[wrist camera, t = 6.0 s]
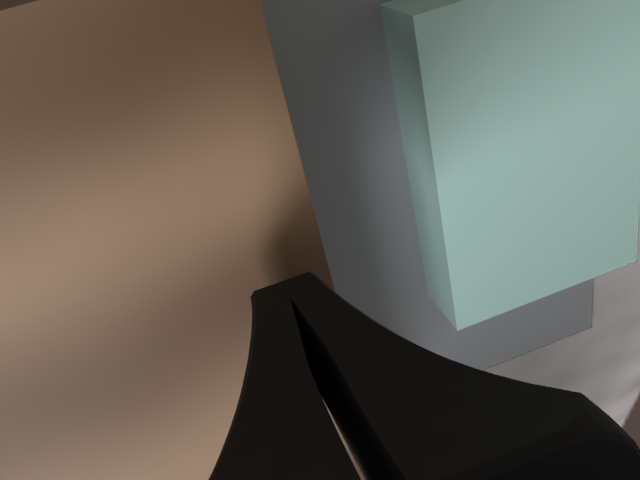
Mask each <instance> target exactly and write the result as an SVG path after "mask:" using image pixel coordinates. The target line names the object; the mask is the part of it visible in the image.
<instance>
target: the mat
mask: <svg viewBox="0 0 640 480" xmlns="http://www.w3.org/2000/svg"><path fill="white" fill-rule="evenodd" d="M259 1H260V5H261V9H262V13H263V16H264V20H265V24H266V28H267V32H268V36H269V39H270V43H271V47H272V51H273V55H274V59H275V63H276V66H277V70H278V74H279V78H280V82H281V86H282V89H283V93H284V97H285V101H286V105H287V109H288V113H289V116H290V120H291V124H292V128H293V132H294V136H295V140H296V143H297V147H298V151H299V155H300V159H301V163H302V166H303V170H304V174H305V178H306V182H307V186H308V190H309V193H310V197H311V201H312V205H313V209H314V213H315V216H316V220H317V224H318V228H319V232H320V236H321V240H322V243H323V247H324V251H325V255H326V259H327V263H328V267H329V270H330V274H331V278H332V282H333V286H334V290H335V292H336V293H337V294H338V295H340V296H341V297H342V298H343V299H345V300H346V301H347V302H349V303H350V304H351V305H353V306H354V307H356V308H357V309H358V310H360V311H361V312H363V313H364V314H366V315H367V316H369V317H370V318H372V319H373V320H375V321H376V322H378V323H379V324H381V325H383V326H384V327H386V328H388V329H389V330H391V331H393V332H394V333H396V334H398V335H400V336H402V337H403V338H405V339H407V340H409V341H411V342H413V343H415V344H417V345H419V346H421V347H423V348H425V349H427V350H429V351H432V352H434V353H436V354H438V355H441V356H443V357H445V358H448V359H450V360H453V361H456V362H459V363H462V364H464V365H467V366H470V367H473V368H476V369H479V370H485V369H487V368H490V367H492V366H495V365H498V364H500V363H503V362H505V361H508V360H510V359H513V358H515V357H518V356H520V355H523V354H526V353H528V352H531V351H533V350H536V349H538V348H541V347H543V346H546V345H548V344H551V343H553V342H556V341H559V340H561V339H564V338H566V337H569V336H571V335H574V334H576V333H579V332H581V331H584V330H587V329H589V328H592V300H593V278H592V279H590V280H587V281H584V282H582V283H579V284H577V285H574V286H571V287H569V288H566V289H564V290H561V291H559V292H556V293H553V294H551V295H548V296H546V297H543V298H541V299H538V300H535V301H533V302H530V303H528V304H525V305H522V306H520V307H517V308H515V309H512V310H510V311H507V312H504V313H502V314H499V315H497V316H494V317H492V318H489V319H486V320H484V321H481V322H479V323H476V324H473V325H471V326H468V327H466V328H463V329H461V330H458V331H457V330H456V329H455V327H454V326H453V325H452V324H451V322H450V321H449V320H448V319H447V317H446V316H445V315H444V314H443V312H442V311H441V310H440V309H439V307H438V306H437V305H436V304H435V302H434V301H433V300H432V299H431V297H430V296H429V295H428V292H427V286H426V280H425V274H424V268H423V262H422V256H421V250H420V244H419V238H418V232H417V226H416V220H415V214H414V208H413V202H412V196H411V190H410V184H409V178H408V172H407V167H406V161H405V155H404V149H403V143H402V137H401V131H400V125H399V119H398V113H397V107H396V101H395V95H394V89H393V83H392V77H391V71H390V65H389V59H388V53H387V47H386V41H385V36H384V30H383V24H382V18H381V12H380V6H379V4H382V3H385V2H388V1H392V0H259Z"/></svg>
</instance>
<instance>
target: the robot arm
mask: <svg viewBox="0 0 640 480" xmlns="http://www.w3.org/2000/svg"><path fill="white" fill-rule="evenodd" d="M250 298H251V303H252V329H251V339H250V347H249V355H248V361H247V366H246V371H245V375H244V380H243V385H242V389H241V393H240V397H239V401H238V404H237V408H236V411H235V414H234V417H233V420H232V423H231V426H230V429H229V432H228V435H227V437H226V440H225V442H224V445H223V448H222V450H221V453H220V455H219V458H218V460H217V462H216V465H215V467H214V469H213V471H212V473H211V475H210V477H209V479H208V480H361V478H360V476H359V474H358V472H357V470H356V468H355V466H354V464H353V462H352V460H351V458H350V456H349V454H348V452H347V450H346V448H345V446H344V444H343V442H342V440H341V438H340V435H339V433H338V431H337V429H336V427H335V425H334V423H333V420H332V418H333V419H334V421H335V423H336V425H337V427H338V429H339V431H340V433H341V435H342V437H343V438H344V440H345V442H346V444H347V446H348V448H349V450H350V452H351V454H352V455H353V457H354V459H355V461H356V463H357V465H358V467H359V469H360V471H361V472H362V474H363V476H364V478H365V480H640V449H639V447H638V446H637V444H636V443H635V441H634V440H633V439H632V438H631V437H630V436H629V435H628V434H627V433H626V432H625V431H624V430H623V429H622V428H621V427H620V426H619V425H618V424H617V423H616V422H615V421H614V420H613V419H612V418H611V417H609V416H608V415H607V414H606V413H605V412H604V411H603V410H601V409H600V408H599V407H598V406H596V405H595V404H594V403H593V402H591V401H590V400H589V399H588V398H587V397H585V396H584V395H583V394H582V393H578V392H572V391H567V390H562V389H556V388H551V387H546V386H540V385H535V384H530V383H525V382H521V381H517V380H514V379H510V378H506V377H502V376H498V375H495V374H491V373H488V372H485V371H482V370H479V369H476V368H473V367H470V366H467V365H464V364H462V363H459V362H456V361H453V360H450V359H448V358H445V357H443V356H441V355H438V354H436V353H434V352H432V351H429V350H427V349H425V348H423V347H421V346H419V345H417V344H415V343H413V342H411V341H409V340H407V339H405V338H403V337H402V336H400V335H398V334H396V333H394V332H393V331H391V330H389V329H388V328H386V327H384V326H383V325H381V324H379V323H378V322H376V321H375V320H373V319H372V318H370V317H369V316H367V315H366V314H364V313H363V312H361V311H360V310H358V309H357V308H356V307H354V306H353V305H351V304H350V303H349V302H347V301H346V300H345V299H343V298H342V297H341V296H340V295H338V294H337V293H336V292H334V291H333V290H332V289H331V288H330V287H328V286H327V285H326V284H325V283H324V282H323V281H322V280H321V279H320V278H319V277H318V276H317V275H316V274H314V273H311V272H307V273H304V274H301V275H298V276H295V277H292V278H290V279H287V280H284V281H281V282H278V283H276V284H273V285H270V286H267V287H264V288H261V289H259V290H256V291H254V292H253V294H252V295H251V297H250ZM322 398H323V399H322ZM323 400H324V401H323ZM324 402H325V403H324ZM325 404H326V405H325ZM326 406H327V407H326ZM327 408H328V410H329V412H330V414H331V416H332V418H331V416H330V414H329V412H328V410H327Z"/></svg>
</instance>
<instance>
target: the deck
mask: <svg viewBox="0 0 640 480" xmlns="http://www.w3.org/2000/svg"><path fill="white" fill-rule="evenodd" d="M307 272H311V273H314V274H316V275H317V276H318V277H319V278H320V279H321V280H322V281H323V282H324V283H325V284H326V285H327V286H328V287H330V288H331V289H332V290H333V291H334V292H335V290H334V286H333V282H332V278H331V274H330V270H329V267H328V263H327V259H326V255H325V251H324V247H323V243H322V240H321V236H320V232H319V228H318V224H317V220H316V216H315V213H314V209H313V205H312V201H311V197H310V193H309V190H308V186H307V182H306V178H305V174H304V170H303V166H302V163H301V159H300V155H299V151H298V147H297V143H296V140H295V136H294V132H293V128H292V124H291V120H290V116H289V113H288V109H287V105H286V101H285V97H284V93H283V89H282V86H281V82H280V78H279V74H278V70H277V66H276V63H275V59H274V55H273V51H272V47H271V43H270V39H269V36H268V32H267V28H266V24H265V20H264V16H263V13H262V9H261V5H260V1H259V0H0V480H208V479H209V477H210V475H211V473H212V471H213V469H214V467H215V465H216V462H217V460H218V458H219V455H220V453H221V450H222V448H223V445H224V442H225V440H226V437H227V435H228V432H229V429H230V426H231V423H232V420H233V417H234V414H235V411H236V408H237V404H238V401H239V397H240V393H241V389H242V385H243V380H244V375H245V371H246V366H247V361H248V355H249V347H250V339H251V329H252V303H251V298H250V297H251V295H252V294H253V292H254V291H256V290H259V289H261V288H264V287H267V286H270V285H273V284H276V283H278V282H281V281H284V280H287V279H290V278H292V277H295V276H298V275H301V274H304V273H307ZM322 399H323V398H322ZM323 401H324V400H323ZM324 403H325V402H324ZM325 405H326V404H325ZM326 407H327V406H326ZM327 410H328V408H327ZM328 412H329V410H328ZM329 414H330V412H329ZM330 416H331V414H330ZM331 418H332V416H331ZM332 420H333V423H334V425H335V427H336V429H337V431H338V433H339V435H340V438H341V440H342V442H343V444H344V446H345V448H346V450H347V452H348V454H349V456H350V458H351V460H352V462H353V464H354V466H355V468H356V470H357V472H358V474H359V476H360V478H361V480H365V478H364V476H363V474H362V472H361V471H360V469H359V467H358V465H357V463H356V461H355V459H354V457H353V455H352V454H351V452H350V450H349V448H348V446H347V444H346V442H345V440H344V438H343V437H342V435H341V433H340V431H339V429H338V427H337V425H336V423H335V421H334V419H333V418H332Z"/></svg>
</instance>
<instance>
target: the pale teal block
mask: <svg viewBox="0 0 640 480" xmlns="http://www.w3.org/2000/svg"><path fill="white" fill-rule="evenodd" d="M379 6H380V12H381V18H382V24H383V30H384V36H385V41H386V47H387V53H388V59H389V65H390V71H391V77H392V83H393V89H394V95H395V101H396V107H397V113H398V119H399V125H400V131H401V137H402V143H403V149H404V155H405V161H406V167H407V172H408V178H409V184H410V190H411V196H412V202H413V208H414V214H415V220H416V226H417V232H418V238H419V244H420V250H421V256H422V262H423V268H424V274H425V280H426V286H427V292H428V295H429V296H430V297H431V299H432V300H433V301H434V302H435V304H436V305H437V306H438V307H439V309H440V310H441V311H442V312H443V314H444V315H445V316H446V317H447V319H448V320H449V321H450V322H451V324H452V325H453V326H454V327H455V329H456V330H457V331H458V330H461V329H463V328H466V327H468V326H471V325H473V324H476V323H479V322H481V321H484V320H486V319H489V318H492V317H494V316H497V315H499V314H502V313H504V312H507V311H510V310H512V309H515V308H517V307H520V306H522V305H525V304H528V303H530V302H533V301H535V300H538V299H541V298H543V297H546V296H548V295H551V294H553V293H556V292H559V291H561V290H564V289H566V288H569V287H571V286H574V285H577V284H579V283H582V282H584V281H587V280H590V279H592V278H595V277H597V276H600V275H602V274H605V273H608V272H610V271H613V270H615V269H618V268H620V267H623V266H626V265H628V264H631V263H633V262H636V259H637V242H638V226H639V209H640V0H392V1H388V2H385V3H382V4H379Z"/></svg>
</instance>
